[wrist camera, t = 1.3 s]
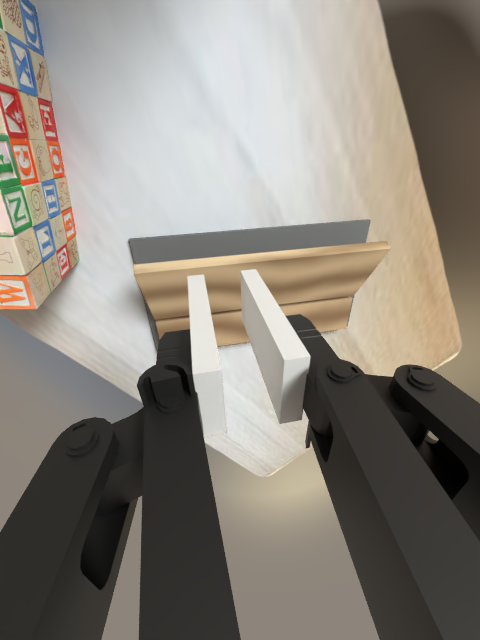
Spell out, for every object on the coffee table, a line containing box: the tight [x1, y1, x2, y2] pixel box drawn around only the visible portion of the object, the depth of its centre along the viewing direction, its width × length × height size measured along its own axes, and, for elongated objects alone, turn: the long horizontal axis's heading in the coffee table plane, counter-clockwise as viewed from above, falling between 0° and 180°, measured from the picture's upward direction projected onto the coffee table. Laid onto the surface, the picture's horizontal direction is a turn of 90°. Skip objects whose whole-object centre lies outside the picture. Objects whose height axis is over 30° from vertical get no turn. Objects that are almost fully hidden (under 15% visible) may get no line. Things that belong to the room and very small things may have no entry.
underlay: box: [129, 219, 371, 352], centre depth 39 cm, size 17×31×1 cm, turn 92°
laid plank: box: [156, 296, 353, 346], centre depth 41 cm, size 6×29×1 cm, turn 92°
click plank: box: [134, 241, 391, 320], centre depth 34 cm, size 10×29×1 cm
